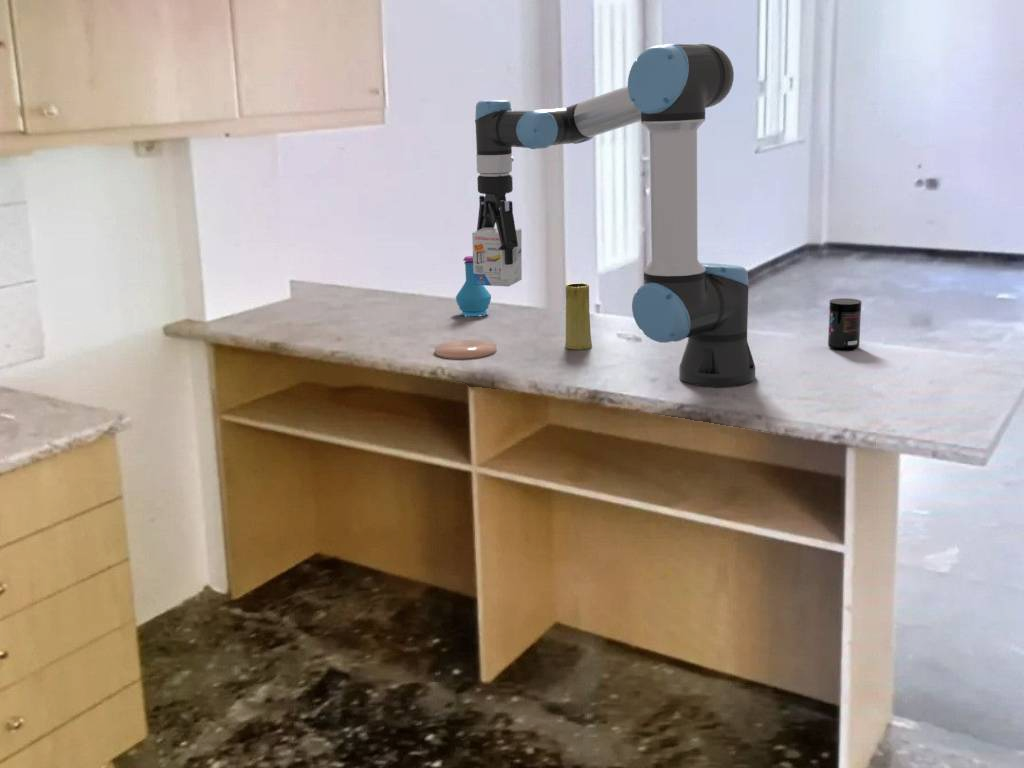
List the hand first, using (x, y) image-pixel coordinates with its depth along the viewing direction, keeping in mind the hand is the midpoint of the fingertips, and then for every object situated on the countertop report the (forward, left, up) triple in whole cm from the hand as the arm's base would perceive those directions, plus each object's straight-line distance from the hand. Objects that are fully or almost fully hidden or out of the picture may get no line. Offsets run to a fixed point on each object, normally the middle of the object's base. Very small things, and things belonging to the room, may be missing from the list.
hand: (497, 274), depth 254 cm
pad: (+7, +6, -18) cm, 20 cm away
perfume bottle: (+45, -10, -18) cm, 49 cm away
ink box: (0, 0, -2) cm, 2 cm away
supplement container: (-32, -68, -18) cm, 78 cm away
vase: (-2, -18, -18) cm, 26 cm away
